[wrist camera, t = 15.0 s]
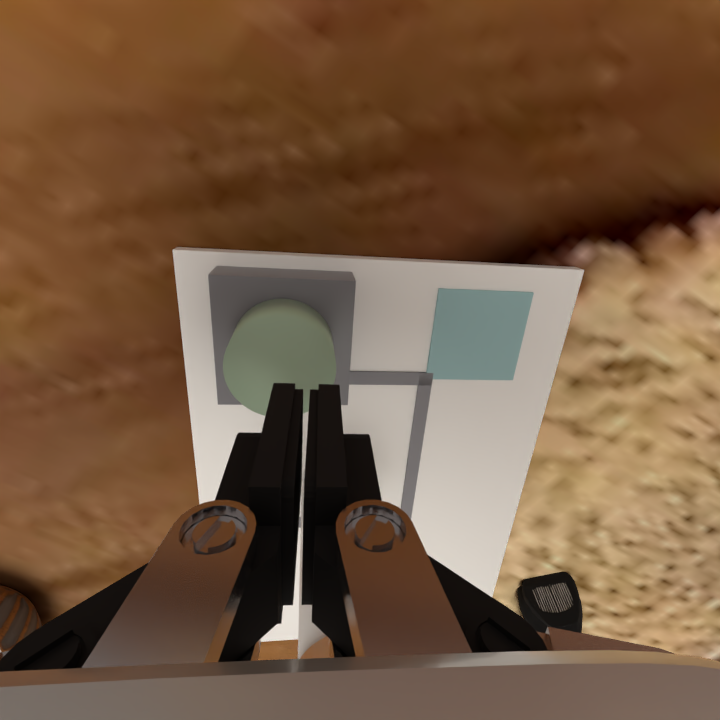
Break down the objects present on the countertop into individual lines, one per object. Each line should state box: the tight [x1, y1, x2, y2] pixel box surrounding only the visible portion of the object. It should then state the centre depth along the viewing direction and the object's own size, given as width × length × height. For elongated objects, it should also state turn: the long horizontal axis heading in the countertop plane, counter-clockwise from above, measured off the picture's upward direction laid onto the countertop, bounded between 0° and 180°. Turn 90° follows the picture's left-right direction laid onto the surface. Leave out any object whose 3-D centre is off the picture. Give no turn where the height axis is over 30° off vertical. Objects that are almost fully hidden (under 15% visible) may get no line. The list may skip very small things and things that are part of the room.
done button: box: [223, 299, 336, 416], centre depth 15 cm, size 4×4×2 cm
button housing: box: [208, 266, 356, 405], centre depth 16 cm, size 5×5×2 cm
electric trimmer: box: [518, 572, 582, 633], centre depth 28 cm, size 4×15×3 cm, turn 7°
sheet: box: [173, 247, 584, 642], centre depth 21 cm, size 16×22×1 cm
